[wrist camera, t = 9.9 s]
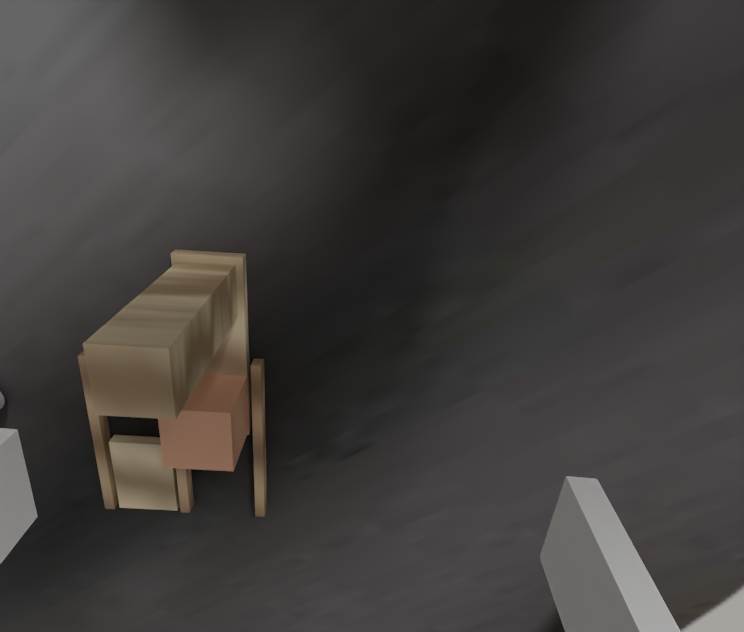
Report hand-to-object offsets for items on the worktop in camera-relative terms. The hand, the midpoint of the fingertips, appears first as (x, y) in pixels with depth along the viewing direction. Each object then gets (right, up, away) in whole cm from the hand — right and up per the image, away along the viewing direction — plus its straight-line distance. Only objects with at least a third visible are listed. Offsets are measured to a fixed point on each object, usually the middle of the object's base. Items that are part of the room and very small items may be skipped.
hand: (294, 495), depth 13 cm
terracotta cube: (-10, -2, +28) cm, 30 cm away
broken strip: (-17, -5, +30) cm, 35 cm away
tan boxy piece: (-10, +2, +27) cm, 29 cm away
